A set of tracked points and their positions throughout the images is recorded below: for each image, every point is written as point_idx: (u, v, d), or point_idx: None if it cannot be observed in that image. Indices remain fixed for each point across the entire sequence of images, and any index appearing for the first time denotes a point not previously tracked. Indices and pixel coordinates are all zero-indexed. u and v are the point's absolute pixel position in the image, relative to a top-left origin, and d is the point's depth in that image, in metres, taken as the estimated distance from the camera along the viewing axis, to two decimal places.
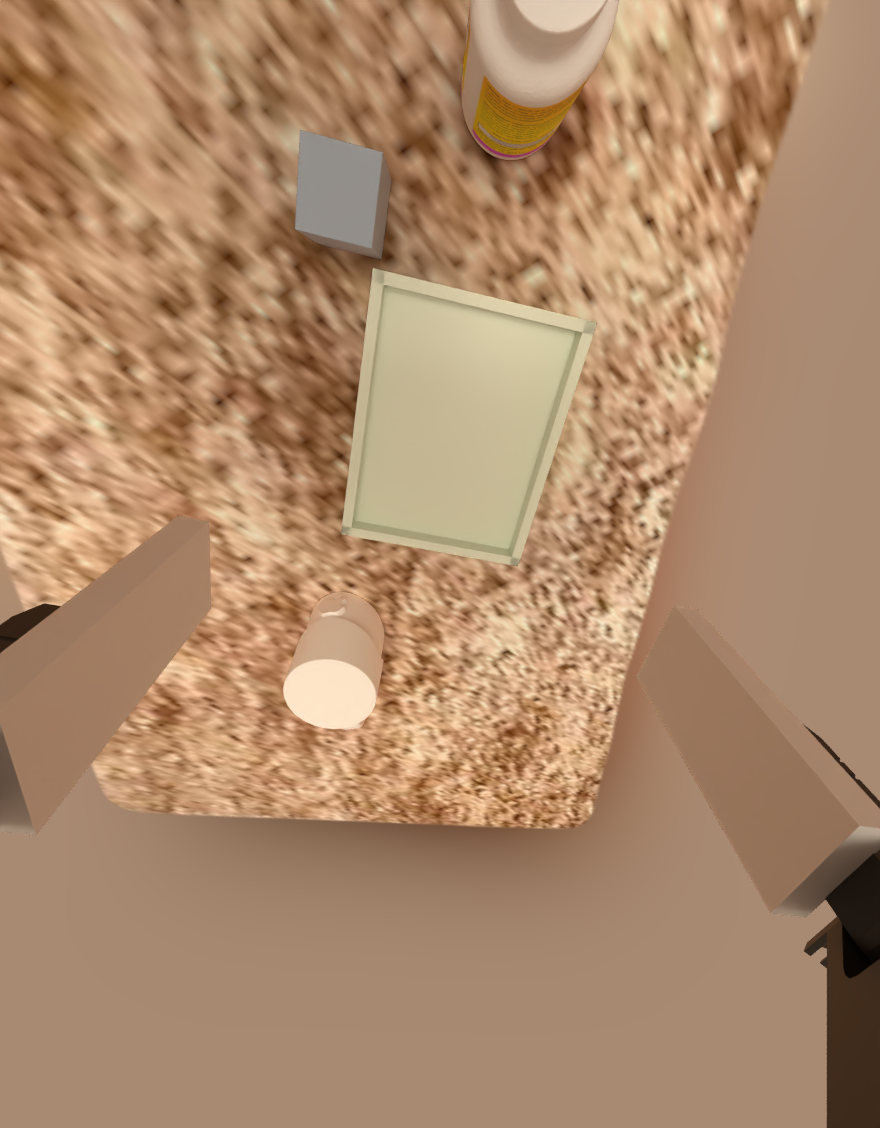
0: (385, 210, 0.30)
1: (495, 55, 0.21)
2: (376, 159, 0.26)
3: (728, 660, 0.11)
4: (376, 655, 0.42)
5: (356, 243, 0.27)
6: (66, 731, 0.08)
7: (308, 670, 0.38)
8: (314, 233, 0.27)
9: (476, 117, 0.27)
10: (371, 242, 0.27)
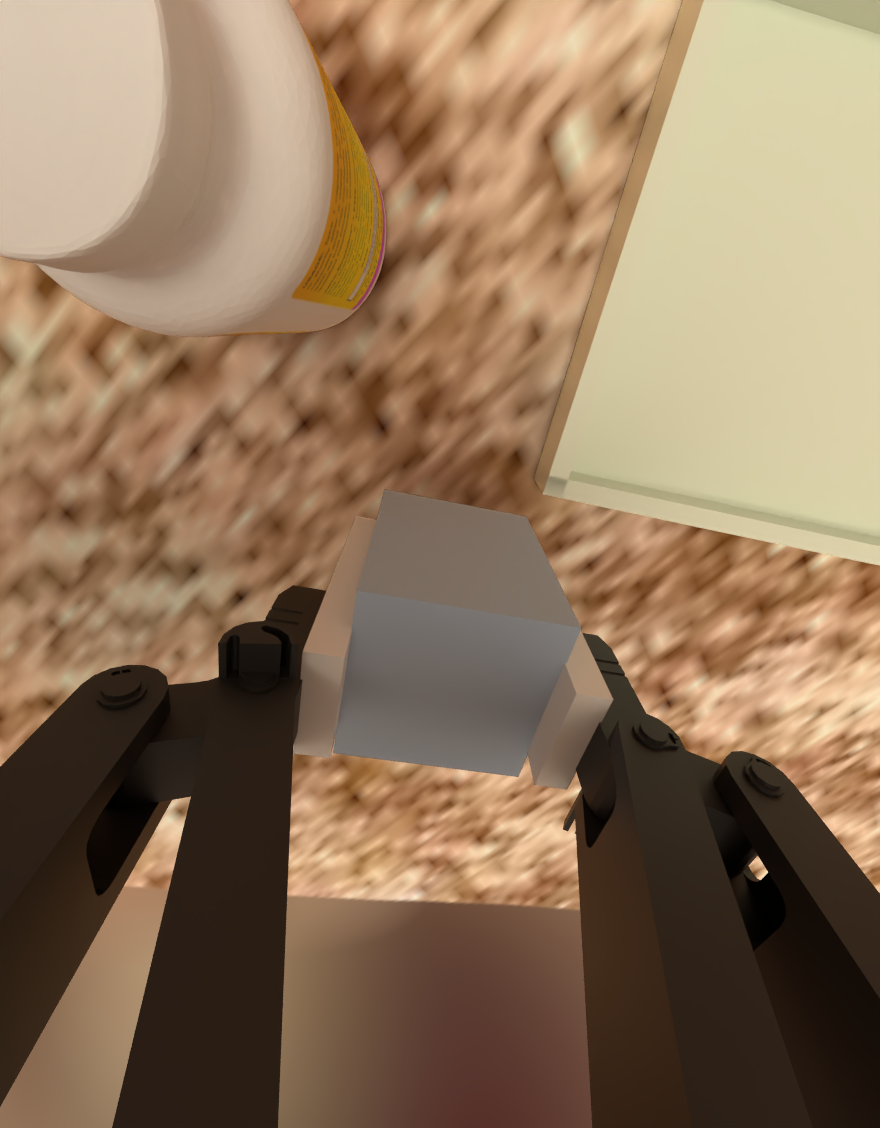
0: (445, 517, 0.13)
1: (256, 270, 0.09)
2: (374, 606, 0.09)
3: None
4: None
5: (563, 661, 0.10)
6: None
7: None
8: (529, 743, 0.11)
9: (341, 304, 0.14)
10: (566, 627, 0.09)
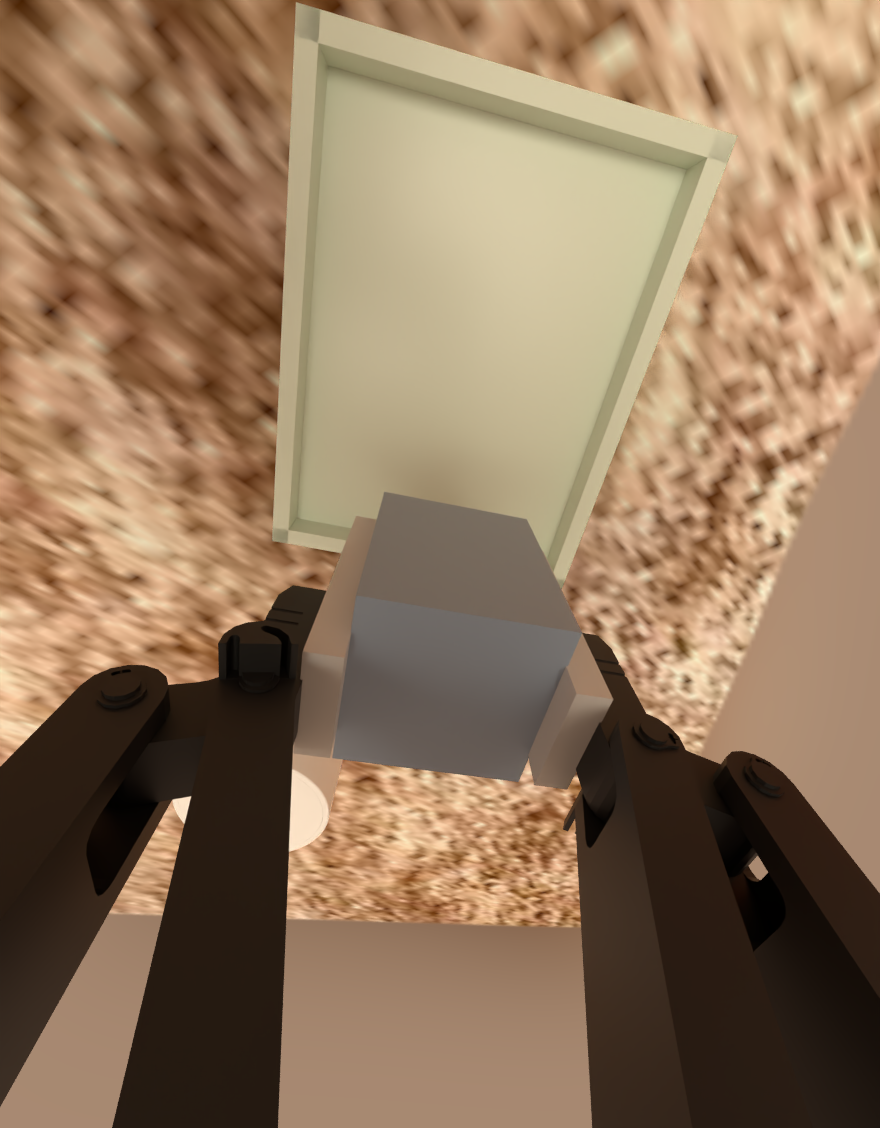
0: (445, 519, 0.13)
1: None
2: (374, 611, 0.09)
3: None
4: None
5: (564, 666, 0.10)
6: None
7: None
8: (530, 748, 0.11)
9: None
10: (567, 632, 0.09)
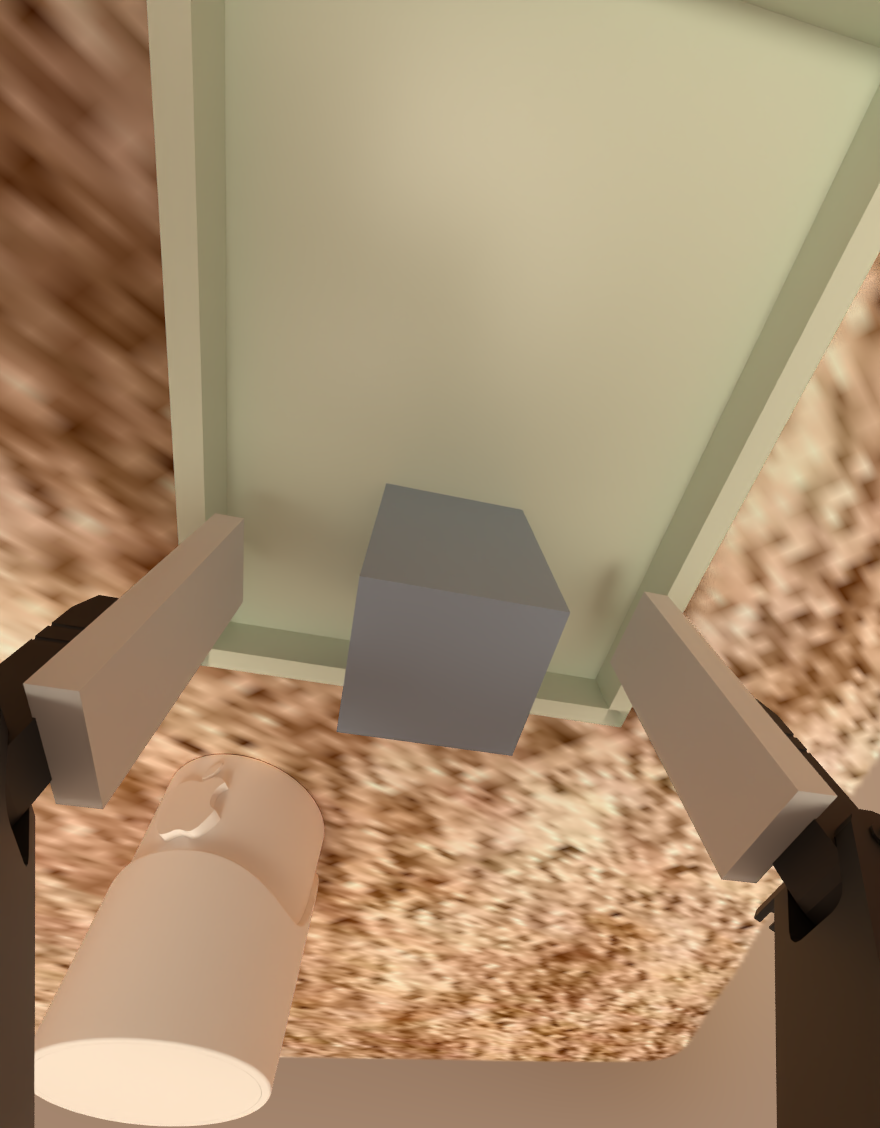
0: (444, 509, 0.14)
1: None
2: (376, 591, 0.10)
3: (691, 642, 0.12)
4: (285, 938, 0.18)
5: (553, 644, 0.10)
6: (129, 713, 0.08)
7: (71, 1055, 0.14)
8: (522, 723, 0.11)
9: None
10: (556, 611, 0.10)
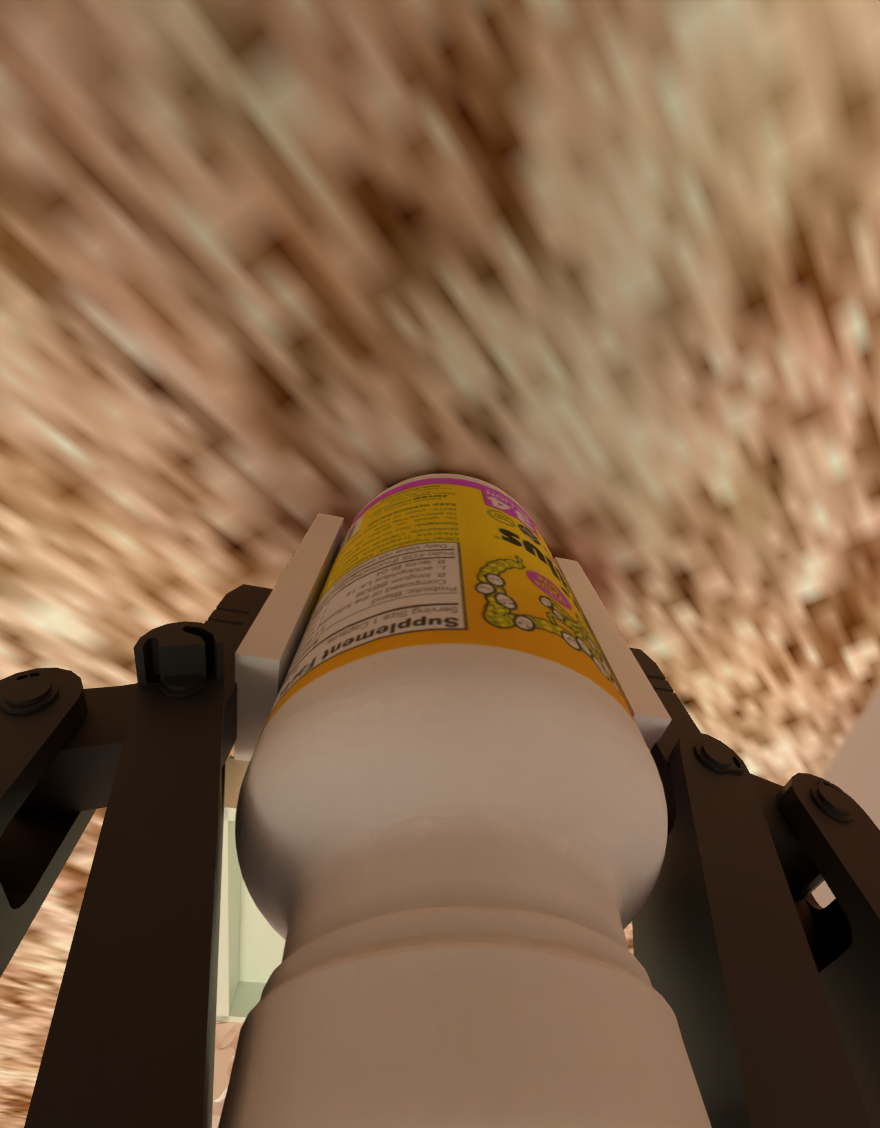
0: None
1: None
2: None
3: (584, 598, 0.12)
4: None
5: None
6: None
7: None
8: None
9: None
10: None
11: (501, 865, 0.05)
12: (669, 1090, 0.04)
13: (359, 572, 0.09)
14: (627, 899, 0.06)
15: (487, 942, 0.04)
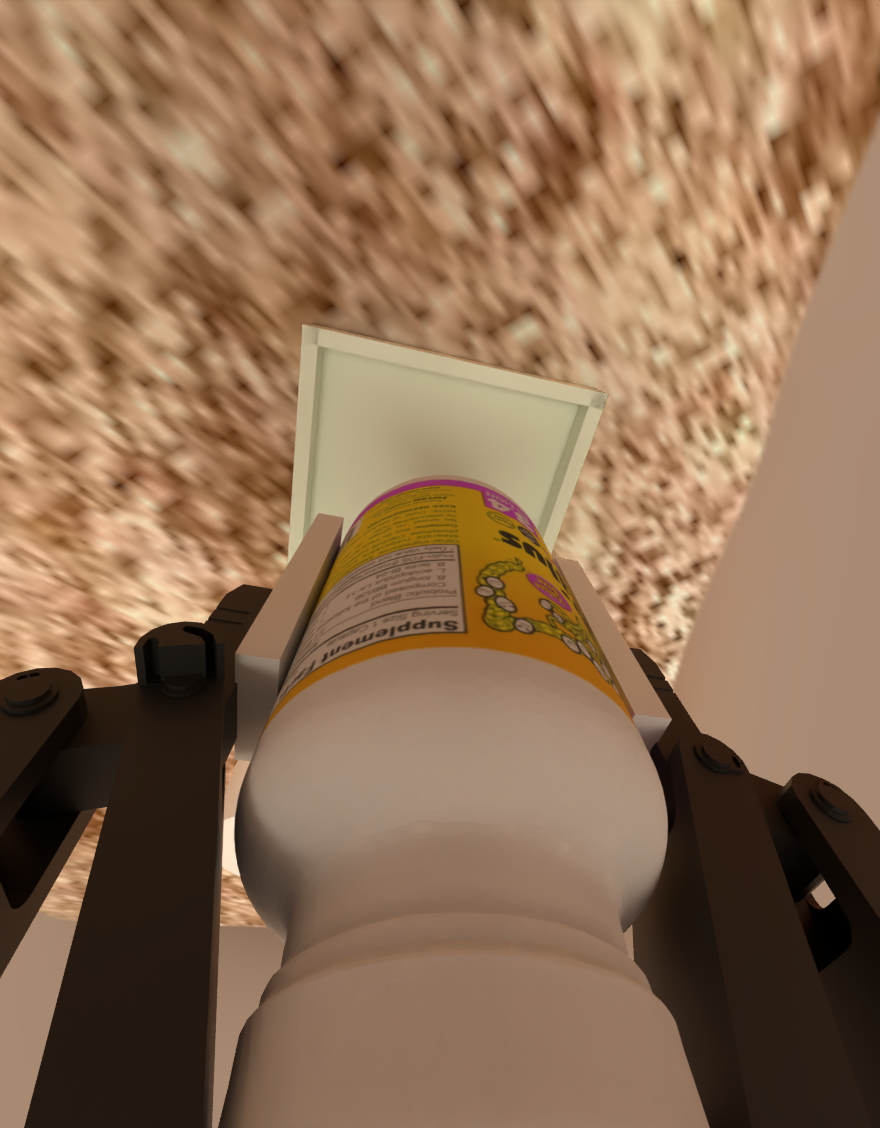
0: None
1: None
2: None
3: (584, 598, 0.12)
4: None
5: None
6: None
7: None
8: None
9: None
10: None
11: (500, 870, 0.05)
12: (669, 1098, 0.04)
13: (358, 574, 0.09)
14: (627, 903, 0.06)
15: (488, 950, 0.04)
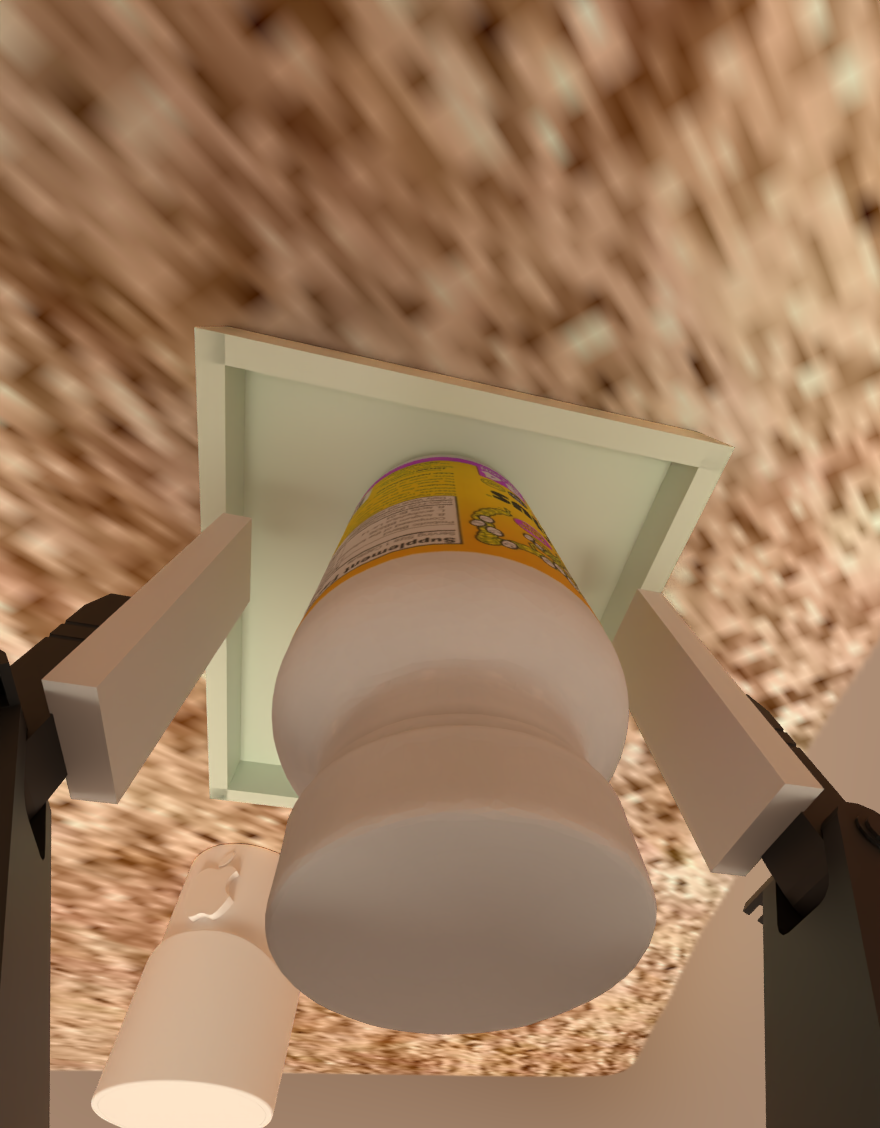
0: None
1: None
2: None
3: (683, 638, 0.12)
4: (283, 996, 0.23)
5: None
6: (142, 709, 0.08)
7: (131, 1091, 0.20)
8: None
9: None
10: None
11: (488, 696, 0.06)
12: (609, 818, 0.05)
13: (371, 520, 0.11)
14: (594, 758, 0.08)
15: (477, 726, 0.06)
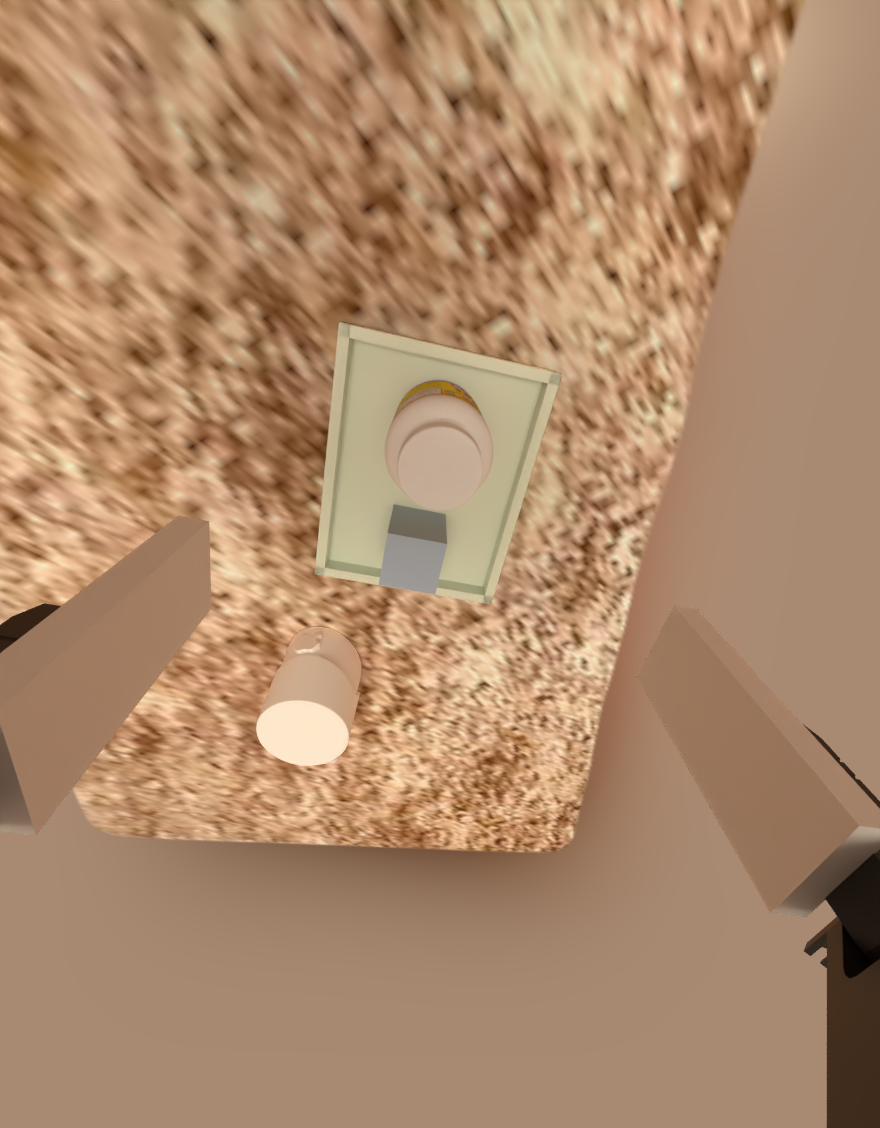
0: (414, 514, 0.38)
1: (404, 489, 0.28)
2: (391, 537, 0.34)
3: (728, 660, 0.11)
4: (350, 692, 0.42)
5: (443, 554, 0.35)
6: (66, 731, 0.08)
7: (280, 710, 0.39)
8: (437, 582, 0.36)
9: None
10: (443, 543, 0.35)
11: None
12: (470, 437, 0.24)
13: (410, 396, 0.30)
14: None
15: (443, 422, 0.25)
